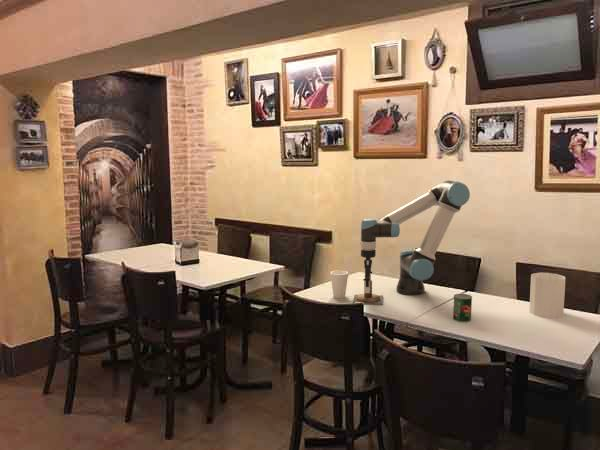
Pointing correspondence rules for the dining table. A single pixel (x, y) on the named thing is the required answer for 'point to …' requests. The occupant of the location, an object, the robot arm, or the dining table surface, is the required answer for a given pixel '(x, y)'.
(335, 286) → the foam cup
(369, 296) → the lid
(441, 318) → the dining table surface
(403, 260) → the robot arm
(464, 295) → the canned tomato
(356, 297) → the mat
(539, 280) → the container
